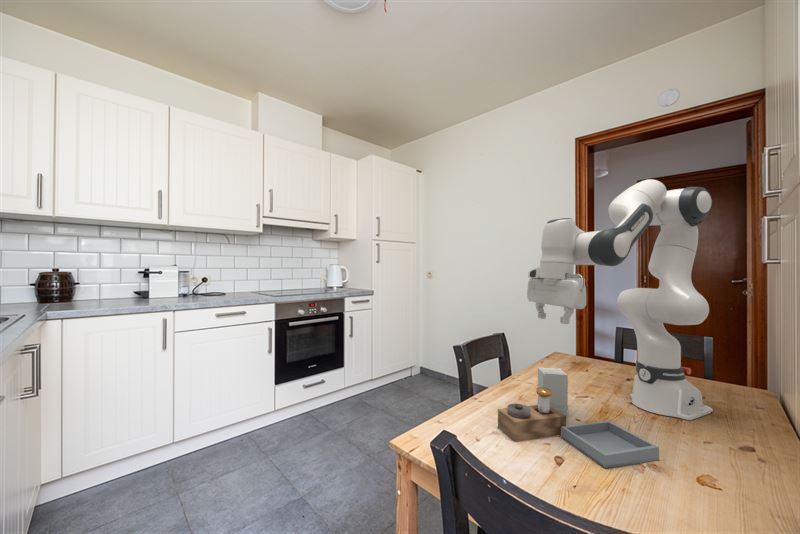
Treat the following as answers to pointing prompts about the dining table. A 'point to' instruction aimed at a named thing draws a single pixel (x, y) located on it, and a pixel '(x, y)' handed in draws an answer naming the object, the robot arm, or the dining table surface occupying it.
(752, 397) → the dining table surface
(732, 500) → the dining table surface
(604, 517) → the dining table surface
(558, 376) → the supplement box
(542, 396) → the pin
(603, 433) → the tray
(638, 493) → the dining table surface
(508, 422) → the block
